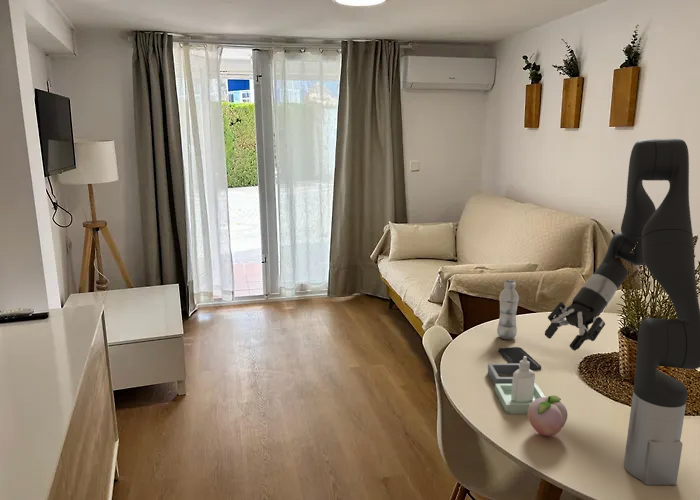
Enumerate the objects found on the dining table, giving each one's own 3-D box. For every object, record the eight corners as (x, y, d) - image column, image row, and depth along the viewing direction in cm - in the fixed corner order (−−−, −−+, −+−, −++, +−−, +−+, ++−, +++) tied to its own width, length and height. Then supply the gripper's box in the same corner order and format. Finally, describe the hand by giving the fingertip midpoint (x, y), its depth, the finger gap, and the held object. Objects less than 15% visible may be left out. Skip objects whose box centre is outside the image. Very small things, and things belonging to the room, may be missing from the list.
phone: (520, 346, 167) (542, 367, 153) (519, 350, 167) (542, 371, 153) (496, 348, 166) (517, 369, 152) (496, 351, 166) (517, 372, 152)
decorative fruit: (534, 420, 127) (537, 382, 124) (569, 432, 122) (572, 393, 119) (519, 437, 120) (522, 398, 117) (555, 451, 115) (559, 410, 112)
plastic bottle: (496, 340, 174) (499, 283, 169) (496, 333, 180) (500, 278, 175) (516, 342, 172) (520, 285, 167) (516, 335, 178) (520, 279, 174)
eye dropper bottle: (534, 404, 132) (538, 361, 129) (511, 402, 133) (514, 359, 130) (532, 396, 136) (535, 354, 134) (510, 394, 137) (512, 352, 135)
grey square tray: (530, 388, 142) (531, 378, 141) (495, 388, 142) (496, 378, 141) (519, 372, 151) (520, 363, 150) (487, 372, 151) (488, 363, 150)
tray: (550, 413, 129) (550, 404, 129) (506, 413, 130) (506, 404, 129) (535, 391, 140) (536, 383, 139) (494, 392, 140) (495, 383, 140)
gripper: (567, 280, 143) (532, 325, 141) (612, 294, 130) (574, 345, 128) (579, 295, 146) (545, 340, 144) (624, 311, 133) (587, 360, 131)
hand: (559, 342), depth 136 cm, fingers open, 8 cm apart
